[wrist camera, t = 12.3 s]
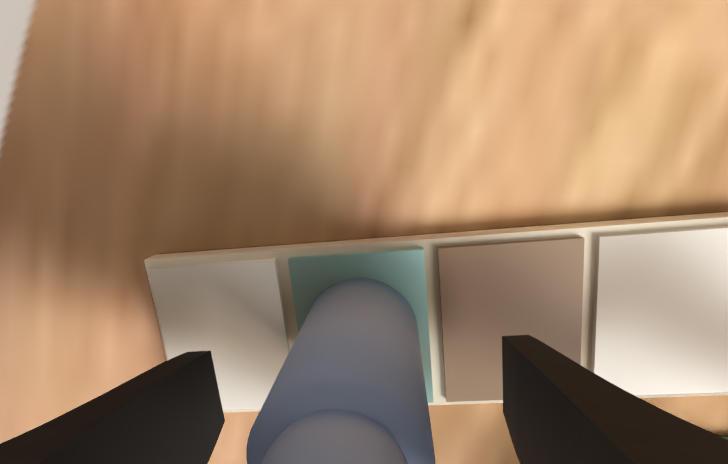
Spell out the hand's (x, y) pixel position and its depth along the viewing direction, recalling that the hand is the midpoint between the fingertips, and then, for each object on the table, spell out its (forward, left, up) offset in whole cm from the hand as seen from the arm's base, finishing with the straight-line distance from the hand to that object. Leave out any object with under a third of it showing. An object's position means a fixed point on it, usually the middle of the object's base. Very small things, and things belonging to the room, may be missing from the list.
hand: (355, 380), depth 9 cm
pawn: (0, 0, -2) cm, 2 cm away
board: (0, -4, -3) cm, 5 cm away
